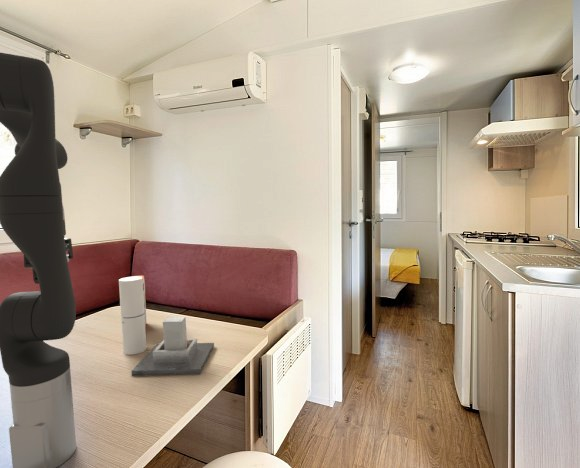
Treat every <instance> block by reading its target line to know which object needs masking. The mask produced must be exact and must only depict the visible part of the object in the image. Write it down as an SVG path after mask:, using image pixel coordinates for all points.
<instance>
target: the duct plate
mask: <svg viewBox="0 0 580 468" xmlns="http://www.w3.org/2000/svg"><path fill="white" fill-rule="evenodd" d="M214 348H215V342H198V338H187V350H165V349H164V339H163V340H162V341H161V342H160V343H156V344H155V345H154V346H153V347H151V349H150V350H149V351H148V352H147V354H146V355H144V357H143V358H142V359H141V360H140V361H139V362H138V363H136V365H135V366H134V367H133V368H132V370H131V376H133V377H136V376H137V377H139V376H174V375H175V376H177V375H178V376H179V375H180V376H181V375H201V374H202V372H203V370H204V368H205V366H206V364H207V363H208V359H209V357H210V356H211V354H212V352H213V350H214Z"/></svg>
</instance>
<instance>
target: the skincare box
mask: <svg viewBox="0 0 580 468" xmlns="http://www.w3.org/2000/svg"><path fill="white" fill-rule="evenodd" d="M186 320H187V319H186V316H181V317H179V316H177V317H175V316H174V317H167V318H165V319H164V321H162V328H163V329H162V330H163V340H164V349H165V350H187V339H188V337H187V336H188V335H187V321H186Z"/></svg>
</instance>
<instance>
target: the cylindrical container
mask: <svg viewBox="0 0 580 468" xmlns="http://www.w3.org/2000/svg"><path fill="white" fill-rule="evenodd" d="M140 276H141V275H133V277H131V276H127V277H122V278H120V279H118V287H119V290H118V291H119V305H120V306H119V307H120V321H121V335H122V350H123V351H122V352H123V354H124V355H126V356H132V355H138V354H141V353H143V352H145V351H146V350H147V337H146V329H145V315H144V298H143V281H142V277H140Z"/></svg>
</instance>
